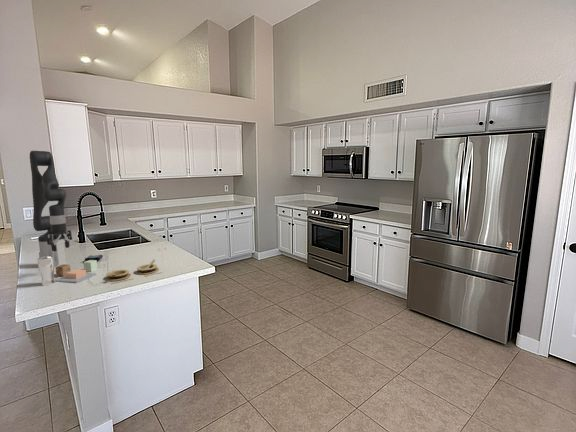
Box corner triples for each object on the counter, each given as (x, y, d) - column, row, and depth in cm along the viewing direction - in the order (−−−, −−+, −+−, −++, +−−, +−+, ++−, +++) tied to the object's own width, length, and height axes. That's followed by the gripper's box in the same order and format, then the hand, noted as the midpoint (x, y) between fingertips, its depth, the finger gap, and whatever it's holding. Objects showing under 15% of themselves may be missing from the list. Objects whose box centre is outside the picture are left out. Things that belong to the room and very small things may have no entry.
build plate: (55, 281, 177) (54, 274, 176) (76, 273, 191) (75, 267, 190) (76, 283, 174) (75, 276, 174) (96, 274, 188) (95, 268, 187)
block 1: (56, 276, 186) (55, 266, 185) (63, 273, 190) (62, 264, 190) (63, 276, 185) (62, 267, 184) (70, 274, 190) (69, 264, 189)
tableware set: (153, 266, 206) (152, 257, 205) (164, 273, 192) (163, 264, 191) (102, 276, 187) (101, 267, 186) (110, 285, 172) (109, 275, 171)
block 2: (84, 271, 195) (83, 262, 194) (90, 269, 200) (90, 260, 199) (91, 271, 194) (90, 262, 193) (97, 269, 199) (96, 260, 198)
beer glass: (59, 281, 177) (56, 256, 175) (50, 285, 170) (47, 259, 168) (46, 281, 177) (43, 256, 174) (37, 286, 170) (33, 259, 168)
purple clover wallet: (84, 258, 212) (89, 254, 222) (84, 262, 212) (89, 259, 222) (99, 256, 214) (103, 253, 225) (99, 261, 215) (104, 257, 225)
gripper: (63, 220, 191) (66, 246, 193) (41, 224, 177) (44, 252, 179) (73, 220, 189) (76, 246, 192) (52, 225, 175) (55, 252, 178)
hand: (61, 249), depth 185 cm, fingers open, 8 cm apart
